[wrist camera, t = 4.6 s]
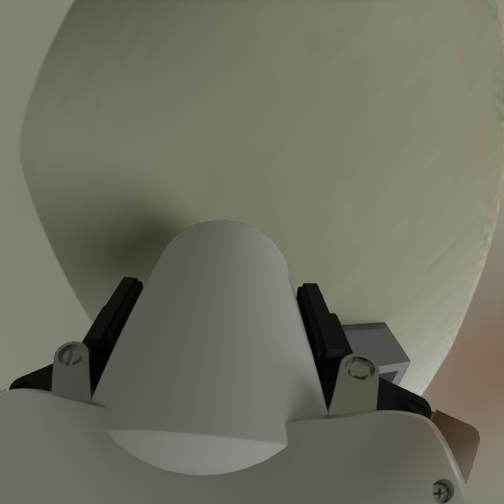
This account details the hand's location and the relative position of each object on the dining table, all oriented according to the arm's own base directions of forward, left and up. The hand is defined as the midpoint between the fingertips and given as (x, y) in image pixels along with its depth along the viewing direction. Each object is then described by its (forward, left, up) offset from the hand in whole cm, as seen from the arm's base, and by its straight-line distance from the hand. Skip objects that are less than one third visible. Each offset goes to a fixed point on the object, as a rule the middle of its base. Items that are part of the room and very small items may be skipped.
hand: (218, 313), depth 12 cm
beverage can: (0, 0, -3) cm, 3 cm away
